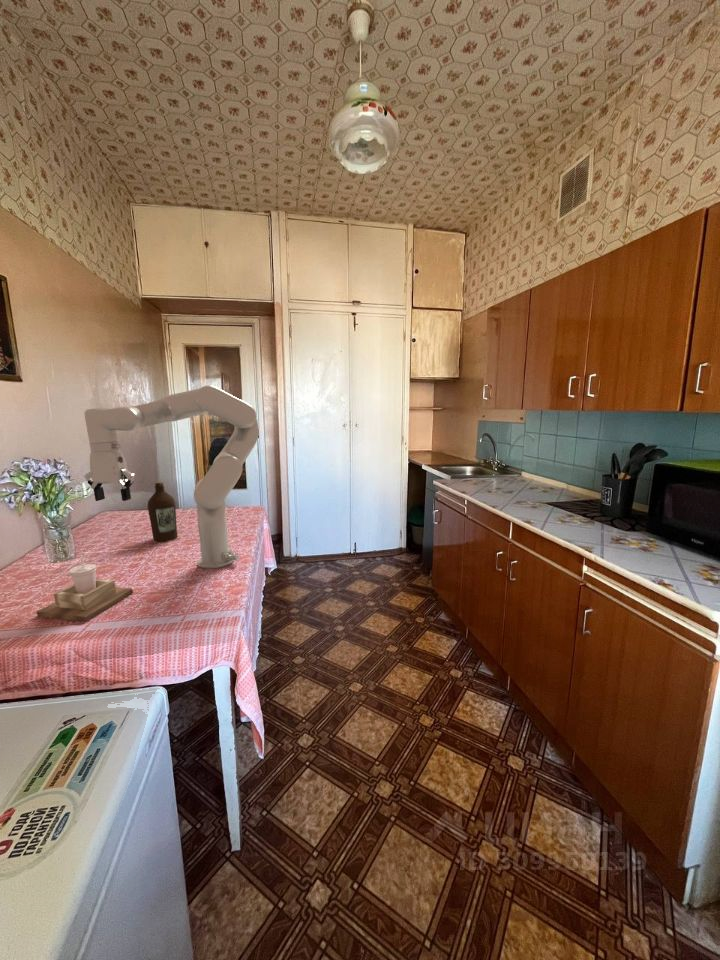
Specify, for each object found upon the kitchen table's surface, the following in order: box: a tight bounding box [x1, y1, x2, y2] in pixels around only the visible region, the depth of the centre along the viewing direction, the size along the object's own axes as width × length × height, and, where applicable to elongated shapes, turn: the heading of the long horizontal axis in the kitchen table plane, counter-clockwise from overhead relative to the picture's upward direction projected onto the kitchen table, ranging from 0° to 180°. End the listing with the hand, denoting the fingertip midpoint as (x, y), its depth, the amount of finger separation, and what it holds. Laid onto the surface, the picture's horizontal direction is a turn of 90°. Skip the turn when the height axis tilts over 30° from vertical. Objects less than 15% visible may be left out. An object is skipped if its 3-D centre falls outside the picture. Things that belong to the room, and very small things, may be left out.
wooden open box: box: [36, 578, 134, 623], centre depth 109 cm, size 16×16×6 cm
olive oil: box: [147, 481, 178, 543], centre depth 162 cm, size 11×11×25 cm
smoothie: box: [68, 553, 97, 594], centre depth 108 cm, size 6×6×14 cm
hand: (113, 499), depth 123 cm, fingers open, 9 cm apart
